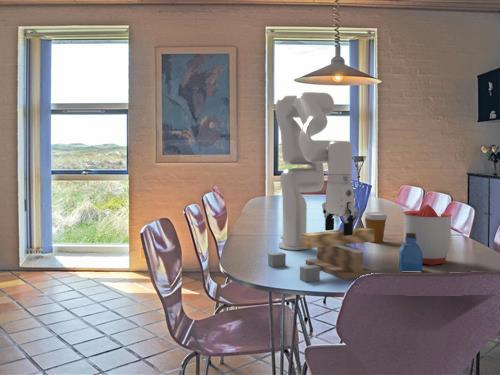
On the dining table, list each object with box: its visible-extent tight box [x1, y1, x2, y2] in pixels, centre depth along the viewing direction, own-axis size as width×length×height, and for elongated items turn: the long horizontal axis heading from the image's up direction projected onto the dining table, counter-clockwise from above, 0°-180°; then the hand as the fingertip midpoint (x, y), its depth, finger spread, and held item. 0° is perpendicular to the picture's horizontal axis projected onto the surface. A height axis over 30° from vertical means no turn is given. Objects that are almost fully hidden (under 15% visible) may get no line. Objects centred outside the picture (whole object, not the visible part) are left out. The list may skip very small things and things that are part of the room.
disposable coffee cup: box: [363, 211, 388, 244], centre depth 197 cm, size 10×10×12 cm
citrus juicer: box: [403, 204, 453, 266], centre depth 161 cm, size 16×17×20 cm
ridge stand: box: [305, 244, 376, 281], centre depth 150 cm, size 22×11×8 cm, turn 26°
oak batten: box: [301, 227, 374, 250], centre depth 149 cm, size 26×4×4 cm, turn 116°
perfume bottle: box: [398, 233, 423, 272], centre depth 149 cm, size 6×6×12 cm
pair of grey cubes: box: [267, 251, 321, 283], centre depth 147 cm, size 23×5×4 cm, turn 26°
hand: (338, 232), depth 150 cm, fingers open, 9 cm apart
